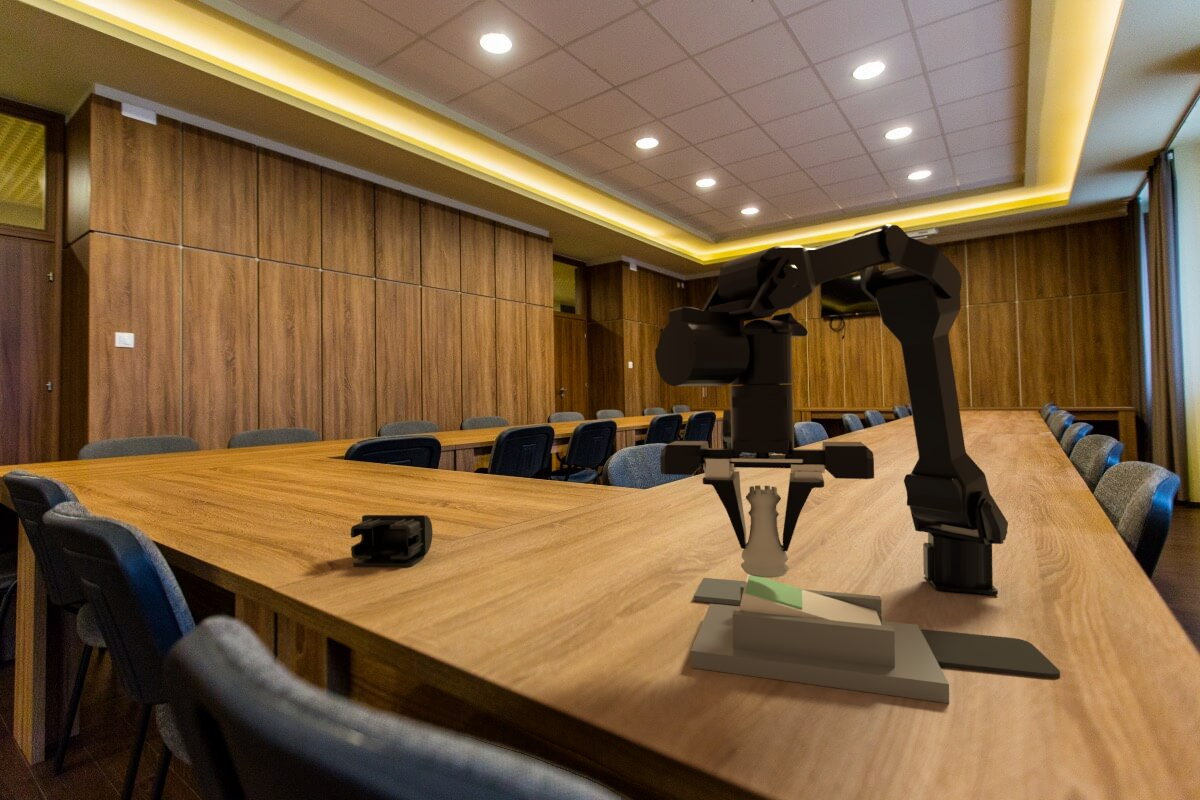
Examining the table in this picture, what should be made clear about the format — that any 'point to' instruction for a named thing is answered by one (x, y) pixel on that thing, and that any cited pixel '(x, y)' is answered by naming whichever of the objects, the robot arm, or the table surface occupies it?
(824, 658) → the grey stand
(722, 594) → the rubber pad
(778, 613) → the rocker
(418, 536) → the end cap
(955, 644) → the phone
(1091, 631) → the table surface
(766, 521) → the rook chess piece
